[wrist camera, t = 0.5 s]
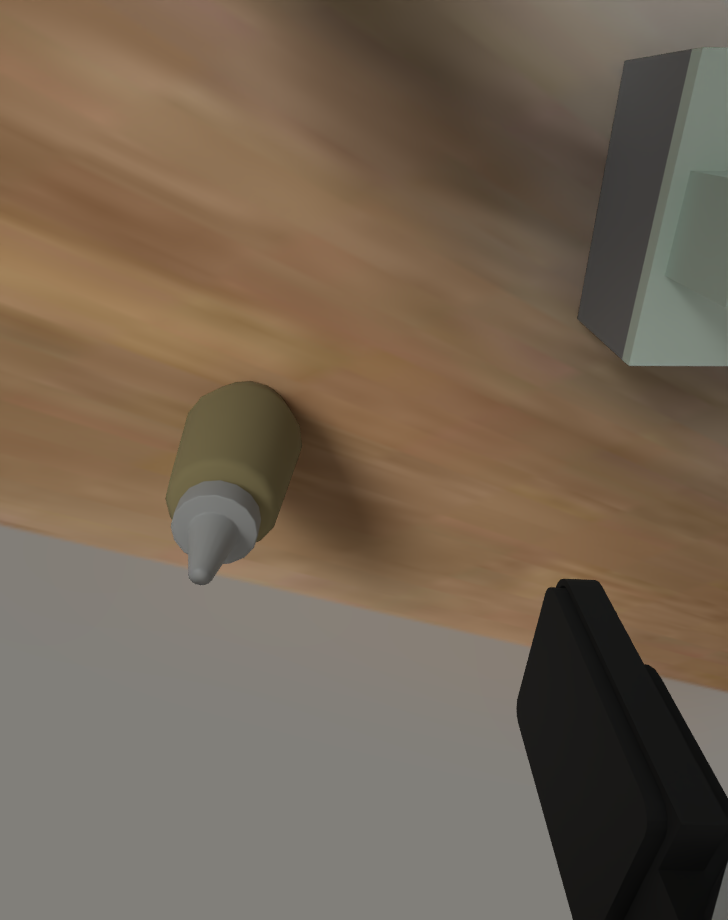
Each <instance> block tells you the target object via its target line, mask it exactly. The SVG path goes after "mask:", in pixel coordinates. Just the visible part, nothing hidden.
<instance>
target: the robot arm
mask: <svg viewBox="0 0 728 920" xmlns="http://www.w3.org/2000/svg"><path fill="white" fill-rule="evenodd" d="M517 718H518V724H519V727H520V731H521V735H522V738H523V741H524V745H525V749H526V753H527V756H528V760H529V763H530V767H531V771H532V774H533V778H534V781H535V785H536V789H537V792H538V796H539V799H540V803H541V806H542V810H543V814H544V817H545V821H546V824H547V828H548V831H549V835H550V839H551V842H552V846H553V850H554V853H555V857H556V860H557V864H558V868H559V871H560V875H561V878H562V882H563V886H564V889H565V893H566V896H567V900H568V903H569V907H570V911H571V914H572V918H573V920H728V798H727V796H726V794H725V792H724V791H723V789H722V787H721V785H720V784H719V782H718V780H717V778H716V776H715V774H714V773H713V771H712V769H711V767H710V765H709V764H708V762H707V760H706V758H705V756H704V755H703V753H702V751H701V749H700V747H699V746H698V744H697V742H696V740H695V739H694V737H693V735H692V733H691V731H690V729H689V728H688V726H687V724H686V722H685V721H684V719H683V717H682V715H681V713H680V711H679V710H678V708H677V706H676V704H675V703H674V701H673V699H672V697H671V695H670V693H669V692H668V690H667V688H666V686H665V684H664V682H663V681H662V679H661V677H660V676H659V675H658V673H657V672H656V670H655V669H654V668H652V667H651V666H649V665H645V664H644V663H643V662H642V660H641V658H640V656H639V654H638V652H637V650H636V649H635V647H634V645H633V643H632V641H631V639H630V637H629V636H628V634H627V632H626V630H625V628H624V626H623V624H622V623H621V621H620V619H619V617H618V615H617V613H616V611H615V610H614V608H613V606H612V604H611V602H610V600H609V598H608V597H607V595H606V593H605V591H604V589H603V587H602V586H601V584H600V583H599V582H598V581H596V580H581V579H561V580H560V581H559V582H558V584H557V586H556V588H555V587H550V588H548V589H547V591H546V593H545V597H544V601H543V604H542V608H541V612H540V616H539V619H538V623H537V627H536V631H535V635H534V638H533V642H532V646H531V650H530V653H529V657H528V661H527V665H526V669H525V672H524V676H523V680H522V684H521V687H520V691H519V695H518V699H517Z"/></svg>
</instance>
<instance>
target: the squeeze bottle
mask: <svg viewBox="0 0 728 920" xmlns="http://www.w3.org/2000/svg"><path fill="white" fill-rule="evenodd" d="M301 448H302V442H301V434H300V426H299V424H298V422H297V421H296V419H295V417H294V416H293V414H292V412H291V411H290V409H289V407H288V406H287V404H286V403H285V402H284V400H283V399H282V397H281V396H280V395H279V394H278V393H276V392H275V391H274V390H272V389H271V388H270V387H268V386H266V385H263V384H260V383H256V382H253V381H247V382H235V383H232V384H229V385H226V386H224V387H221V388H219V389H217V390H215V391H213V392H211V393H209V394H207V395H204V396H202V397H201V398H200V399H199V401H198V402H197V403H196V404H195V406H194V407H193V408H192V409H191V410H190V412H189V413H188V416H187V419H186V423H185V427H184V430H183V434H182V437H181V441H180V445H179V448H178V452H177V456H176V459H175V463H174V466H173V470H172V474H171V477H170V481H169V485H168V490H167V494H166V498H165V499H166V503H167V506H168V510H169V514H170V517H171V519H172V523H171V529H172V533H173V537H174V540H175V541H176V543H177V544H178V545H179V546H180V548H181V549H182V550H183V551H184V552H185V553H187V554H188V575H189V579H190V580H191V581H192V582H193V583H195V584H199V585H205V584H208V583H209V582H210V581H211V580H212V579H213V577H214V576H215V574H216V573H217V571H218V570H219V569H220V567H221V566H222V564H228V563H232V562H234V561H237V560H239V559H242V558H244V557H245V556H246V555H247V554H248V553H249V552H250V551H251V550H252V549H253V548H254V546H255V543H256V542H258V541H260V540H261V539H262V538H263V537H264V536H265V535H266V534H267V533H268V532H269V531H270V530H271V529H272V528H273V527H274V525H275V522H276V519H277V516H278V514H279V511H280V508H281V505H282V502H283V499H284V497H285V494H286V491H287V488H288V485H289V482H290V480H291V477H292V474H293V471H294V468H295V465H296V462H297V460H298V457H299V454H300V451H301Z"/></svg>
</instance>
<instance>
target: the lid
mask: <svg viewBox="0 0 728 920" xmlns="http://www.w3.org/2000/svg"><path fill="white" fill-rule="evenodd" d="M622 360H623V361H624V362H625V363H626V364H627V365H628V366H728V48H717V47H702V48H696V49H692V52H691V56H690V61H689V65H688V70H687V74H686V78H685V83H684V87H683V92H682V96H681V100H680V105H679V109H678V114H677V118H676V123H675V127H674V131H673V136H672V140H671V145H670V149H669V154H668V158H667V162H666V167H665V171H664V176H663V180H662V184H661V189H660V193H659V198H658V202H657V207H656V211H655V215H654V220H653V224H652V229H651V233H650V238H649V242H648V246H647V251H646V255H645V260H644V264H643V268H642V273H641V277H640V282H639V286H638V291H637V295H636V299H635V304H634V308H633V313H632V317H631V322H630V326H629V330H628V335H627V339H626V344H625V348H624V352H623V357H622Z"/></svg>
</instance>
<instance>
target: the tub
mask: <svg viewBox="0 0 728 920" xmlns="http://www.w3.org/2000/svg"><path fill="white" fill-rule="evenodd" d="M691 52H692V49H690V50H684V51H678V52H673V53H667V54H661V55H655V56H650V57H644V58H638V59H632V60H626V61H625V62H624V67H623V73H622V78H621V84H620V89H619V95H618V100H617V106H616V111H615V117H614V122H613V128H612V133H611V138H610V144H609V149H608V155H607V160H606V166H605V171H604V177H603V182H602V188H601V193H600V198H599V204H598V209H597V215H596V220H595V226H594V231H593V237H592V242H591V248H590V253H589V258H588V264H587V269H586V275H585V280H584V286H583V291H582V297H581V302H580V308H579V313H578V318H577V319H578V320H579V321H580V322H581V323H582V324H584V325H585V326H586V327H587V328H588V329H589V330H590V331H591V332H592V333H593V334H594V335H596V336H597V337H598V338H599V339H600V340H601V341H602V342H603V343H604V344H605V345H606V346H608V347H609V348H610V349H611V350H612V351H613V352H614V353H615V354H616V355H617V356H619V357H620V358H621V359H622V357H623V352H624V348H625V344H626V339H627V335H628V330H629V326H630V322H631V317H632V313H633V308H634V304H635V299H636V295H637V291H638V286H639V282H640V277H641V273H642V268H643V264H644V260H645V255H646V251H647V246H648V242H649V238H650V233H651V229H652V224H653V220H654V215H655V211H656V207H657V202H658V198H659V193H660V189H661V184H662V180H663V176H664V171H665V167H666V162H667V158H668V154H669V149H670V145H671V140H672V136H673V131H674V127H675V123H676V118H677V114H678V109H679V105H680V100H681V96H682V92H683V87H684V83H685V78H686V74H687V70H688V65H689V61H690V56H691Z"/></svg>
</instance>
